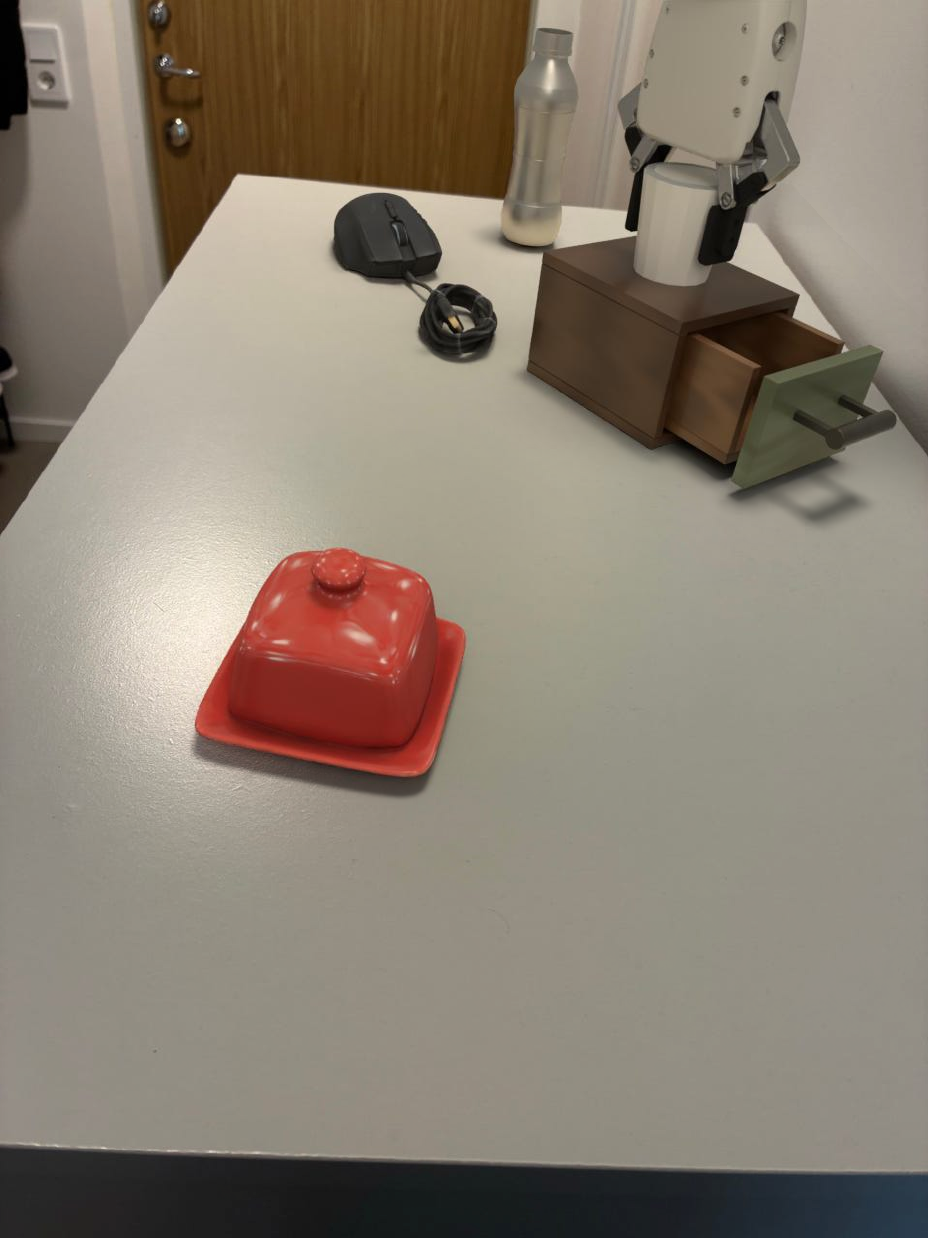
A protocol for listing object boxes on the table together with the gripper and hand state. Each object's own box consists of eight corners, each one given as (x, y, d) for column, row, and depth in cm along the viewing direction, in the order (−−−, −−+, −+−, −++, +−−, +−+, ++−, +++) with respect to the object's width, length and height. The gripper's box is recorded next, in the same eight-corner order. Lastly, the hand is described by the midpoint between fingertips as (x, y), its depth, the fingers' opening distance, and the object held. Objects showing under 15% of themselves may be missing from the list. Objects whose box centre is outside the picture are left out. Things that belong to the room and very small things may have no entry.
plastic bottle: (532, 257, 100) (562, 39, 88) (485, 239, 104) (506, 26, 91) (569, 246, 104) (602, 35, 92) (522, 228, 108) (548, 23, 95)
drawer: (892, 476, 69) (937, 375, 64) (791, 519, 63) (832, 411, 58) (711, 376, 79) (736, 282, 74) (609, 405, 73) (630, 305, 68)
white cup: (734, 281, 71) (761, 183, 67) (669, 294, 68) (692, 191, 64) (671, 251, 76) (692, 156, 71) (606, 262, 72) (624, 163, 68)
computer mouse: (398, 230, 103) (400, 176, 100) (530, 355, 81) (539, 292, 78) (313, 234, 100) (313, 179, 96) (428, 366, 78) (432, 300, 74)
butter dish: (427, 801, 43) (441, 664, 38) (184, 753, 44) (164, 611, 39) (470, 641, 52) (486, 510, 47) (267, 603, 53) (259, 471, 47)
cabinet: (762, 413, 77) (800, 294, 71) (650, 449, 71) (682, 322, 64) (635, 342, 86) (659, 231, 79) (526, 369, 79) (543, 250, 73)
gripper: (896, -23, 56) (801, 278, 67) (683, -63, 66) (632, 204, 78) (818, -25, 52) (731, 294, 64) (605, -67, 62) (563, 214, 74)
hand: (677, 242), depth 70 cm, fingers closed on white cup, 6 cm apart
